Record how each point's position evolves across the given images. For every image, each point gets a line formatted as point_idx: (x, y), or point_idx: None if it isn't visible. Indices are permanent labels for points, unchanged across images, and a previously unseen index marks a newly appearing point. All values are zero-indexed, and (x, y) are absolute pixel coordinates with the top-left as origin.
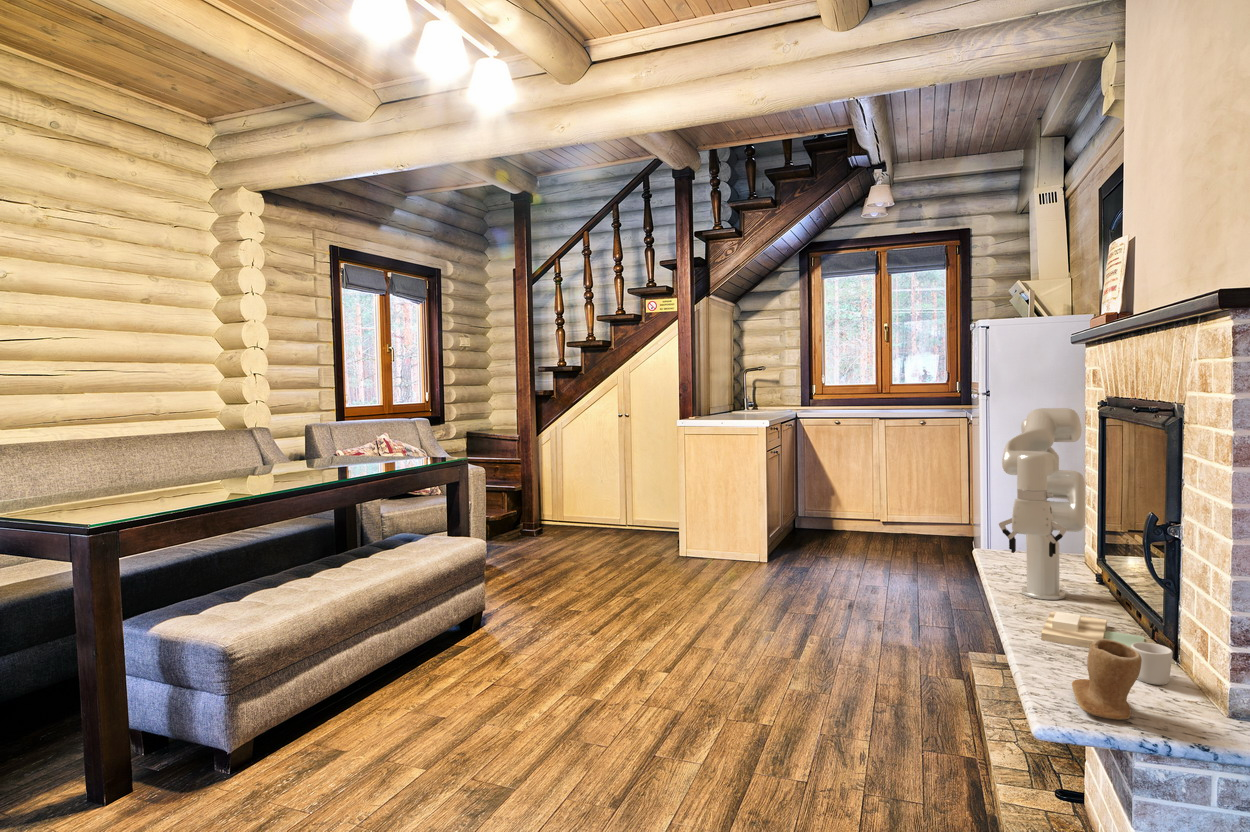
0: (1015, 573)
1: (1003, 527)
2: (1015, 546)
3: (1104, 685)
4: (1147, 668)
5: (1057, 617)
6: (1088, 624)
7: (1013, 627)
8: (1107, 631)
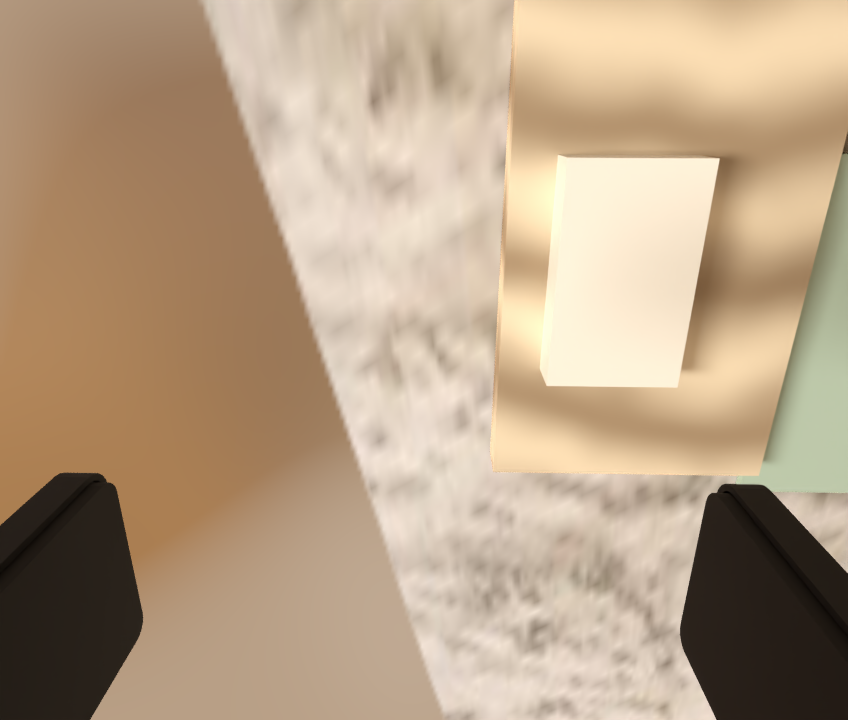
0: None
1: None
2: (63, 567)
3: None
4: None
5: (574, 300)
6: (739, 190)
7: (344, 330)
8: None
